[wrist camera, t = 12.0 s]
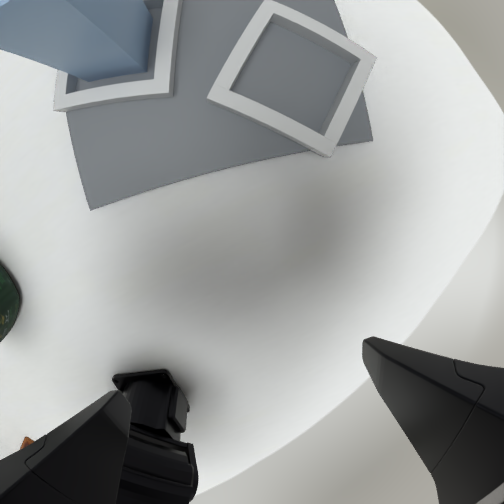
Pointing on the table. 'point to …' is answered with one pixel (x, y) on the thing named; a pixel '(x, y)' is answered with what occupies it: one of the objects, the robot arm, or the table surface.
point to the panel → (202, 127)
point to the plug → (79, 35)
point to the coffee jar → (7, 303)
